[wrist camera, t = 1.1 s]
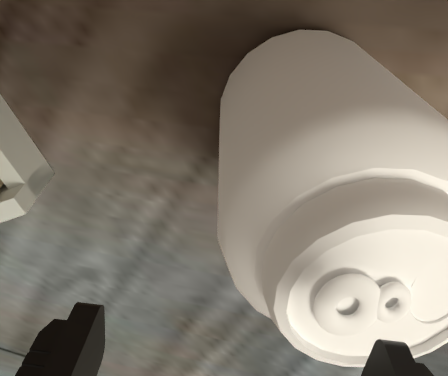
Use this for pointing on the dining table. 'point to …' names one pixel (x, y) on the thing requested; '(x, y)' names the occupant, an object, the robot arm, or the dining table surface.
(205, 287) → the dining table surface
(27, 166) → the frame
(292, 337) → the white plastic bottle
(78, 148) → the dining table surface
